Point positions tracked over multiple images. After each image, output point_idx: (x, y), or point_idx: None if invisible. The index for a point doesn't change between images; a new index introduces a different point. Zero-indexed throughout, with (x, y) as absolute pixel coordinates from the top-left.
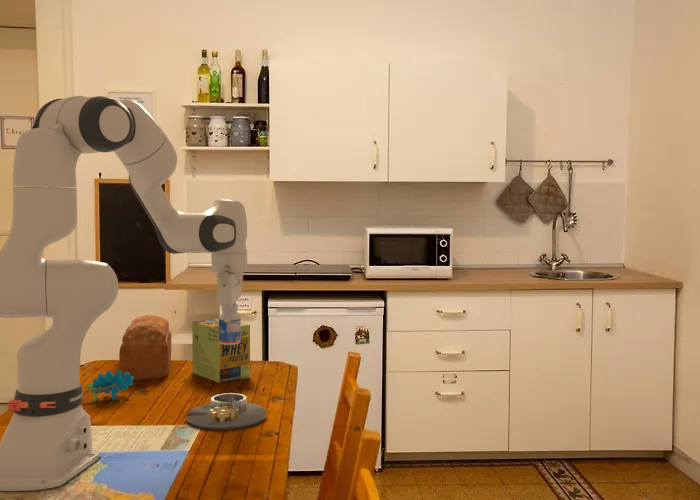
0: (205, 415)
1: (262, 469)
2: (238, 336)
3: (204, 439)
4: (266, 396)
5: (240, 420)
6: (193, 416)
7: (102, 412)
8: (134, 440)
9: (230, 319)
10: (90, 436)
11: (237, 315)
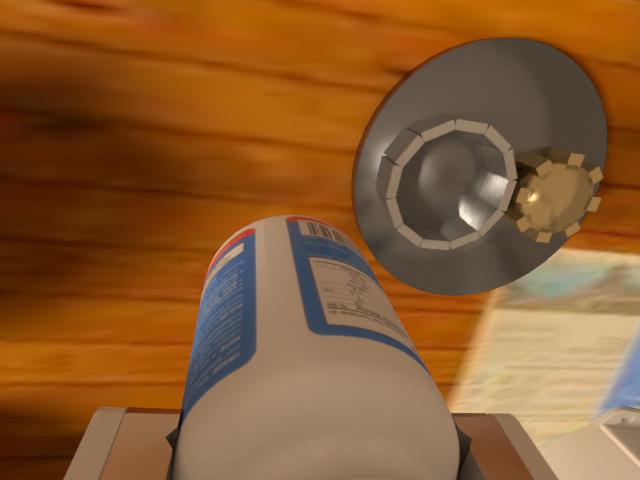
0: (489, 246)
1: None
2: (355, 251)
3: (630, 232)
4: (219, 4)
5: (580, 139)
6: (486, 277)
7: None
8: (563, 370)
9: (520, 436)
10: (631, 449)
11: (428, 406)
